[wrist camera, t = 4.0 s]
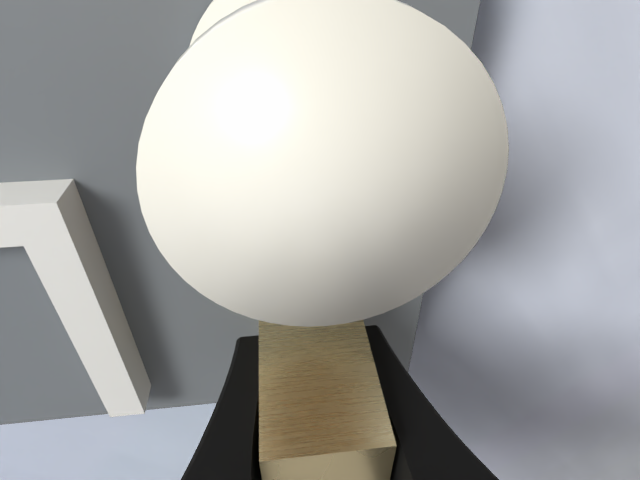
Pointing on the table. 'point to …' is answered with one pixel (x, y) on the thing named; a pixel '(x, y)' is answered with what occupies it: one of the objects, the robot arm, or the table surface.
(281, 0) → the spool
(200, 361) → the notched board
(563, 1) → the table surface
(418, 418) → the robot arm
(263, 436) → the brass tab
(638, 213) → the table surface
